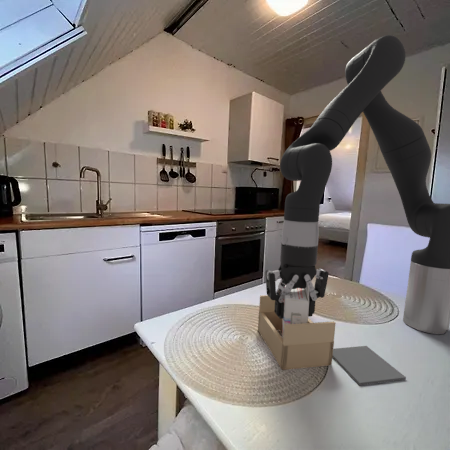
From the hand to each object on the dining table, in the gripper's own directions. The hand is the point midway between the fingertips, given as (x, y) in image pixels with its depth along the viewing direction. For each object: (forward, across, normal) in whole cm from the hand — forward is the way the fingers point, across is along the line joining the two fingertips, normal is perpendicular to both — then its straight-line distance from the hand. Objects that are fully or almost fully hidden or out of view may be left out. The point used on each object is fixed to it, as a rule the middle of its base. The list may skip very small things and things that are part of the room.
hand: (294, 315), depth 56 cm
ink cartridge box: (+6, 0, 0) cm, 6 cm away
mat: (+7, -12, +8) cm, 16 cm away
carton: (+7, 0, 0) cm, 7 cm away
